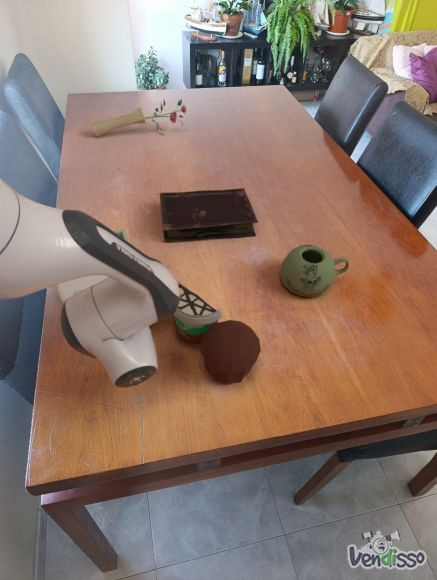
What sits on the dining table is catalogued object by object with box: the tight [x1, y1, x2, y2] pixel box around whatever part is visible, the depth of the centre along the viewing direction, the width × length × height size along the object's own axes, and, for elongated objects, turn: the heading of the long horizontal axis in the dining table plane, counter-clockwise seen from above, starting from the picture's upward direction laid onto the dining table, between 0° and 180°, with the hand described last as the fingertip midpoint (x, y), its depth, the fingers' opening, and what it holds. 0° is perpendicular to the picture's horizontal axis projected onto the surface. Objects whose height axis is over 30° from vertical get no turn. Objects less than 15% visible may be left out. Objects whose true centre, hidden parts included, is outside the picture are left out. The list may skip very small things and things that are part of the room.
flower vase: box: [90, 98, 187, 138], centre depth 140 cm, size 12×12×35 cm
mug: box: [280, 244, 350, 298], centre depth 88 cm, size 16×13×9 cm
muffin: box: [200, 319, 262, 386], centre depth 71 cm, size 12×11×10 cm
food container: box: [173, 279, 223, 344], centre depth 76 cm, size 12×6×10 cm, turn 47°
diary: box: [159, 187, 259, 242], centre depth 105 cm, size 19×25×5 cm
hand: (105, 261), depth 79 cm, fingers closed on robot figurine, 7 cm apart
